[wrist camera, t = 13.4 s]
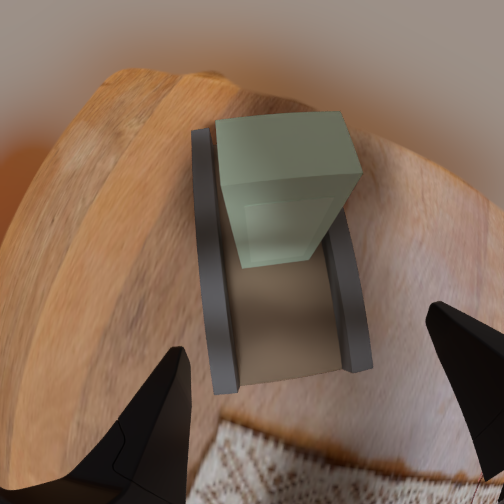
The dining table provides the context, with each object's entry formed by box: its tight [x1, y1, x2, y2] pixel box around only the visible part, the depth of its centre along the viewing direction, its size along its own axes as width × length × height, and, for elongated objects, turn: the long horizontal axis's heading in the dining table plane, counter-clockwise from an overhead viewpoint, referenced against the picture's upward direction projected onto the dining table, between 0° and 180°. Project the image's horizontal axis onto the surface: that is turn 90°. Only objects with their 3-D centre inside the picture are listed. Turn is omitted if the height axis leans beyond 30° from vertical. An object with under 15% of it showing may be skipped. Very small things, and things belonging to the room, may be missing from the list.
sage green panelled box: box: [215, 111, 363, 269], centre depth 16 cm, size 3×5×12 cm, turn 97°
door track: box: [191, 128, 373, 395], centre depth 21 cm, size 20×11×4 cm, turn 8°
